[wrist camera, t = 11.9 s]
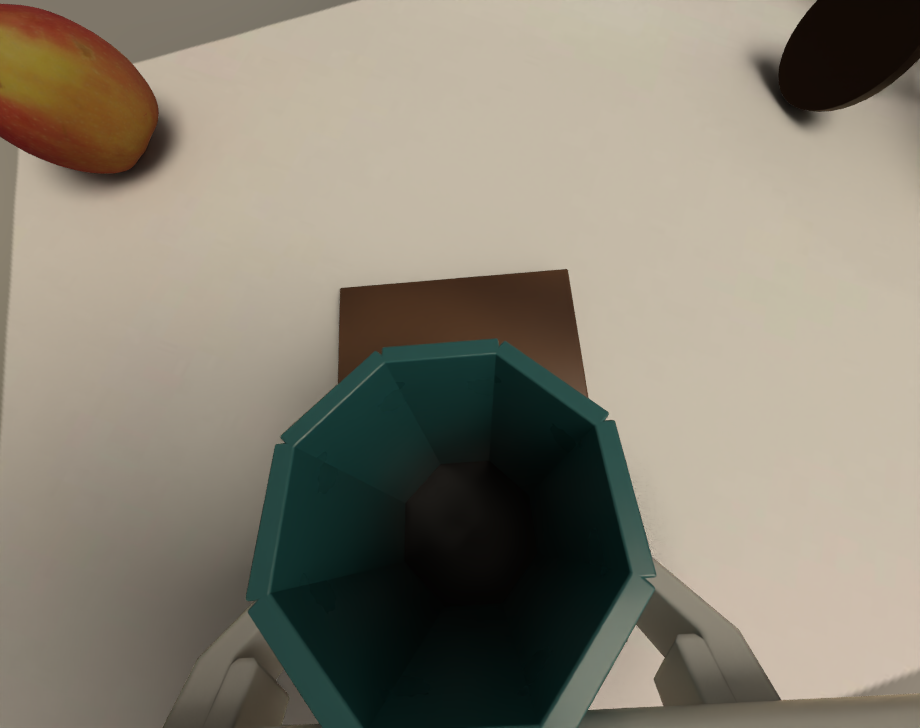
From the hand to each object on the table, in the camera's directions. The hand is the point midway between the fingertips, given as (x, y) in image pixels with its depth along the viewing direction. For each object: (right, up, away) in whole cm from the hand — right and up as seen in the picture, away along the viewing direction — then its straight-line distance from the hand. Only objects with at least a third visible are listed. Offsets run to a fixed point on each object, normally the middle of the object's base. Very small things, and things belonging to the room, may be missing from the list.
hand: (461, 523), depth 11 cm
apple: (-23, +20, +14) cm, 33 cm away
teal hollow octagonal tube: (0, -2, +5) cm, 5 cm away
